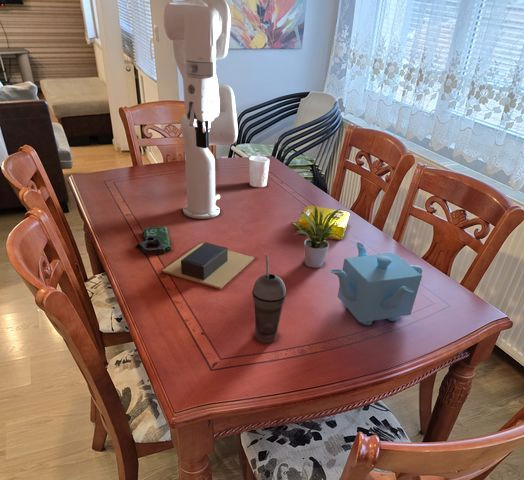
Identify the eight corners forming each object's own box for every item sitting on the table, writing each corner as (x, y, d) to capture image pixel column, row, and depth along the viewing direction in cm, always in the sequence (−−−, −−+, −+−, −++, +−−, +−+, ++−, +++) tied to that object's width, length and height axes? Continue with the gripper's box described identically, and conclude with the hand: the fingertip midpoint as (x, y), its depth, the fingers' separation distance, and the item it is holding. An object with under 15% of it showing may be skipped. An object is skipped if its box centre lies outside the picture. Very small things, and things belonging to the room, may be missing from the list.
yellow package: (305, 216, 163) (307, 203, 160) (348, 223, 160) (350, 210, 157) (296, 233, 151) (297, 219, 148) (342, 241, 149) (344, 226, 146)
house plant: (313, 246, 144) (320, 194, 134) (348, 263, 137) (358, 208, 127) (281, 259, 136) (286, 205, 126) (317, 278, 128) (325, 221, 118)
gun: (134, 227, 145) (167, 225, 147) (135, 231, 145) (167, 230, 148) (136, 250, 132) (172, 248, 134) (137, 255, 133) (172, 253, 135)
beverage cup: (271, 350, 102) (278, 268, 89) (243, 338, 104) (246, 257, 92) (287, 334, 107) (296, 254, 94) (260, 323, 109) (265, 245, 97)
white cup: (267, 188, 184) (269, 162, 177) (247, 187, 183) (248, 161, 177) (267, 182, 190) (269, 156, 184) (248, 180, 190) (249, 155, 183)
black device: (205, 241, 132) (180, 260, 122) (227, 247, 130) (203, 266, 120) (206, 255, 134) (181, 273, 125) (227, 260, 132) (203, 280, 123)
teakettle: (415, 305, 120) (431, 252, 111) (399, 342, 107) (415, 286, 98) (345, 285, 126) (355, 234, 117) (321, 319, 112) (330, 264, 103)
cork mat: (200, 244, 141) (200, 242, 140) (254, 259, 135) (254, 257, 135) (162, 272, 126) (162, 270, 126) (220, 289, 121) (220, 287, 120)
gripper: (198, 74, 110) (200, 155, 121) (228, 68, 121) (227, 143, 132) (171, 70, 112) (175, 150, 123) (203, 64, 123) (204, 139, 134)
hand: (202, 146), depth 127 cm, fingers closed
